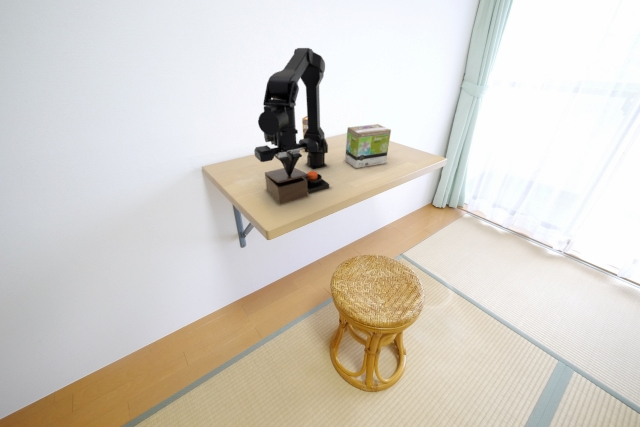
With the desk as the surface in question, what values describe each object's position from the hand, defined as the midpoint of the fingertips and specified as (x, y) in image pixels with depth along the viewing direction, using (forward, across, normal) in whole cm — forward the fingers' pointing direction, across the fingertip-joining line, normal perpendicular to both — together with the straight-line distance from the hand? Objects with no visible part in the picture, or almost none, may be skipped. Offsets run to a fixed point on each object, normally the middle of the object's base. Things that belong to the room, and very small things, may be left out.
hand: (289, 175), depth 83 cm
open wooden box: (+8, 0, -4) cm, 9 cm away
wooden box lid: (+1, 0, -3) cm, 3 cm away
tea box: (+8, -41, -12) cm, 43 cm away
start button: (+5, -11, -4) cm, 12 cm away
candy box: (+8, -29, -40) cm, 50 cm away
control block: (+8, -11, -4) cm, 14 cm away
